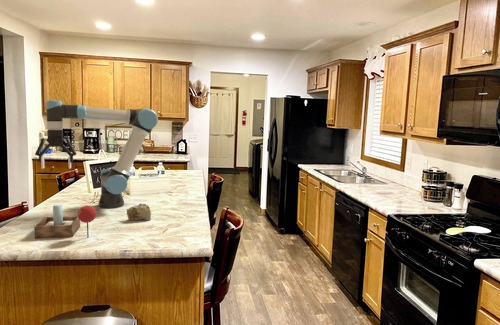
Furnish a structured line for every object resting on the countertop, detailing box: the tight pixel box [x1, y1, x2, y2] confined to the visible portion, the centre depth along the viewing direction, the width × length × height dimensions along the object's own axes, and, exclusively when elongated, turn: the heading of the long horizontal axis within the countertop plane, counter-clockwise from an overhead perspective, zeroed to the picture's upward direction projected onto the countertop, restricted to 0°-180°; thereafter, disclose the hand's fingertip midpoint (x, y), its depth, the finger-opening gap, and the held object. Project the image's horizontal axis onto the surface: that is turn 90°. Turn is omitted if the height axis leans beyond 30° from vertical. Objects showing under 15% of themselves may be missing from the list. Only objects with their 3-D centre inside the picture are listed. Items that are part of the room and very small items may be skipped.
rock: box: [126, 202, 152, 221], centre depth 208 cm, size 12×7×10 cm, turn 93°
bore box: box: [33, 215, 81, 239], centre depth 183 cm, size 16×16×6 cm
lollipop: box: [77, 205, 97, 239], centre depth 175 cm, size 8×8×15 cm
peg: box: [52, 204, 64, 225], centre depth 182 cm, size 4×4×12 cm
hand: (56, 168), depth 208 cm, fingers open, 13 cm apart
